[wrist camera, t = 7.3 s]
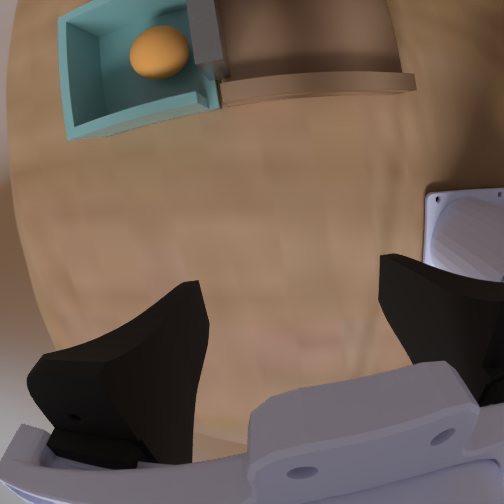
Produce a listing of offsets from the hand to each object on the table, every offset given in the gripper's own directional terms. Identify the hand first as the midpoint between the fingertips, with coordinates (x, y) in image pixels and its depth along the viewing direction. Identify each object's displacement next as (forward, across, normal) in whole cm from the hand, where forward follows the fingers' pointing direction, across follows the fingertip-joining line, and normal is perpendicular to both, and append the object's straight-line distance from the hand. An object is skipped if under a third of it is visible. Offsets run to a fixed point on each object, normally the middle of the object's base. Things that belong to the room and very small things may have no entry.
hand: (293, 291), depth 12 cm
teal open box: (+9, +6, -12) cm, 17 cm away
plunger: (+7, +2, -12) cm, 14 cm away
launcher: (+9, -4, -12) cm, 16 cm away
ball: (+7, +5, -12) cm, 15 cm away
